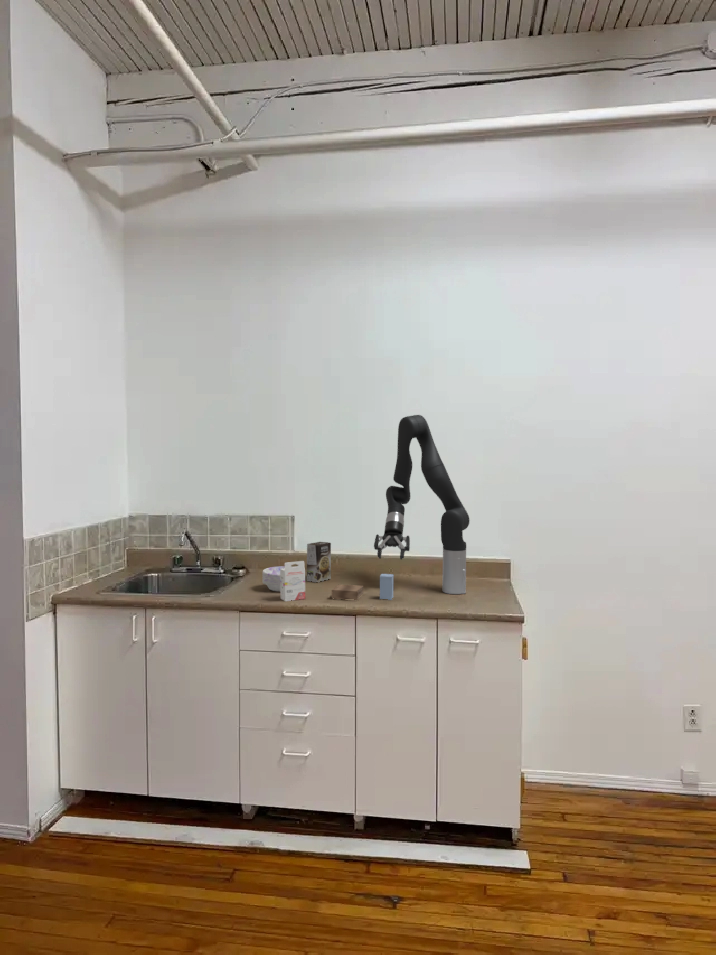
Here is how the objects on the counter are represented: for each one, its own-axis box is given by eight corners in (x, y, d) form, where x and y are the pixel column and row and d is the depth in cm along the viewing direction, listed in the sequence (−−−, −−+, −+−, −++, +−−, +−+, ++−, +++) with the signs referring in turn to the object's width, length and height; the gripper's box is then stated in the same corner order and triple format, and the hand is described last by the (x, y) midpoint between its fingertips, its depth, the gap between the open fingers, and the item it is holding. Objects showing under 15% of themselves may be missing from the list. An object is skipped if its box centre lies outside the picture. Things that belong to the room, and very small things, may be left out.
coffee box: (317, 583, 283) (317, 545, 282) (306, 581, 287) (306, 543, 286) (331, 579, 290) (331, 542, 289) (320, 577, 294) (320, 540, 293)
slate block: (393, 597, 259) (393, 574, 259) (391, 600, 255) (391, 576, 254) (381, 596, 260) (381, 573, 259) (379, 599, 255) (379, 576, 255)
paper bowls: (268, 594, 262) (268, 574, 261) (258, 586, 276) (257, 567, 275) (305, 591, 268) (305, 571, 268) (293, 583, 282) (293, 564, 282)
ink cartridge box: (300, 596, 260) (300, 558, 259) (305, 599, 255) (305, 560, 254) (279, 598, 256) (279, 560, 255) (284, 601, 251) (284, 562, 251)
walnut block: (363, 595, 263) (363, 585, 262) (357, 601, 253) (357, 591, 253) (338, 594, 265) (338, 584, 265) (331, 600, 255) (331, 589, 255)
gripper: (376, 519, 276) (371, 551, 265) (411, 520, 273) (407, 553, 263) (378, 530, 281) (373, 562, 271) (412, 531, 279) (408, 564, 268)
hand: (390, 557), depth 267 cm, fingers open, 8 cm apart
